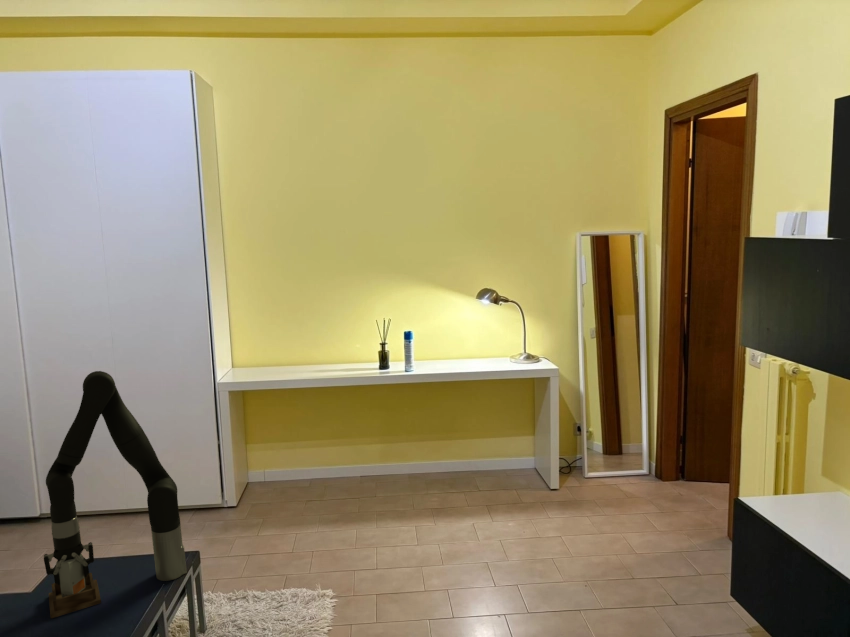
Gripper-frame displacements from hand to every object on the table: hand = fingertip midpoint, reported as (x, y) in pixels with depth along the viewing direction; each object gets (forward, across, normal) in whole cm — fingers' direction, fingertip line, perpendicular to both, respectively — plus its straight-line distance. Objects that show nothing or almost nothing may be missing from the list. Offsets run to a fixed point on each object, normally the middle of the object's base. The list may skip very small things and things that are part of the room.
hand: (72, 579), depth 205 cm
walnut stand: (+7, 0, 0) cm, 7 cm away
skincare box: (+5, 0, 0) cm, 5 cm away
